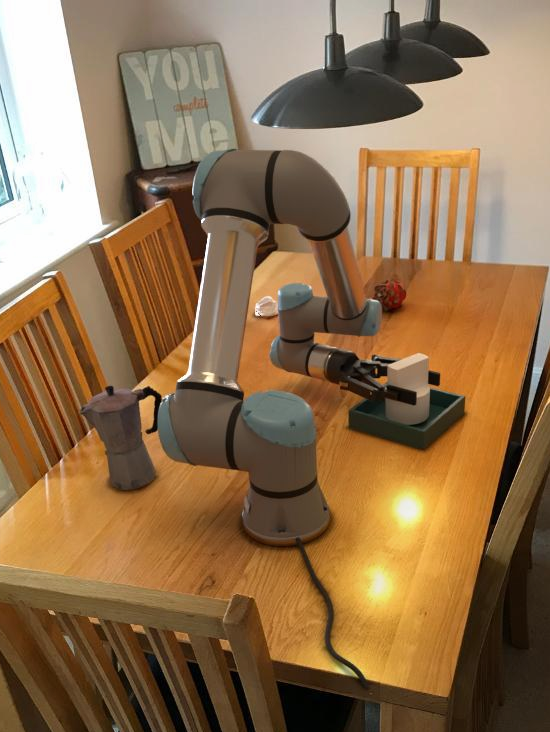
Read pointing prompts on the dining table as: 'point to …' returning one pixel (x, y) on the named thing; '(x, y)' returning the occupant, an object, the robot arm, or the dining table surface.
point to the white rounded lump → (266, 307)
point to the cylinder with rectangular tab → (410, 377)
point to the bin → (420, 435)
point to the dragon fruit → (390, 294)
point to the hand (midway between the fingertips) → (427, 389)
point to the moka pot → (123, 434)
